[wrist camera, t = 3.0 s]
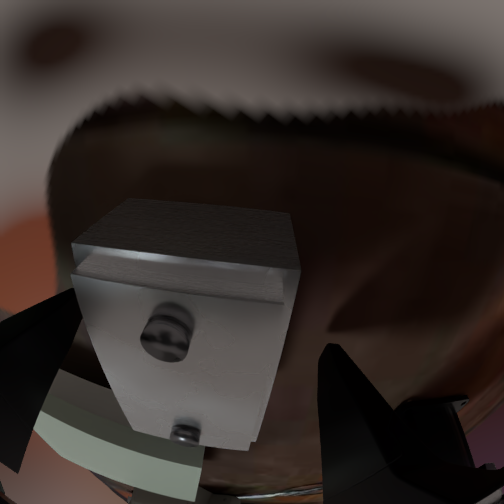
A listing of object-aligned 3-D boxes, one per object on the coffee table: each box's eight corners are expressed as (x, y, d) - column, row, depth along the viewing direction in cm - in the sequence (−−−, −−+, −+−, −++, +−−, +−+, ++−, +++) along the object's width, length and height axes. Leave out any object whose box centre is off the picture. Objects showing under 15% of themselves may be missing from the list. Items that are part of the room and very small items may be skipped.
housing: (288, 210, 8) (306, 302, 4) (258, 377, 12) (254, 463, 8) (131, 196, 8) (45, 265, 4) (154, 362, 12) (126, 440, 8)
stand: (213, 399, 13) (201, 468, 9) (200, 463, 18) (194, 501, 15) (26, 336, 12) (-5, 381, 9) (74, 423, 18) (60, 456, 14)
